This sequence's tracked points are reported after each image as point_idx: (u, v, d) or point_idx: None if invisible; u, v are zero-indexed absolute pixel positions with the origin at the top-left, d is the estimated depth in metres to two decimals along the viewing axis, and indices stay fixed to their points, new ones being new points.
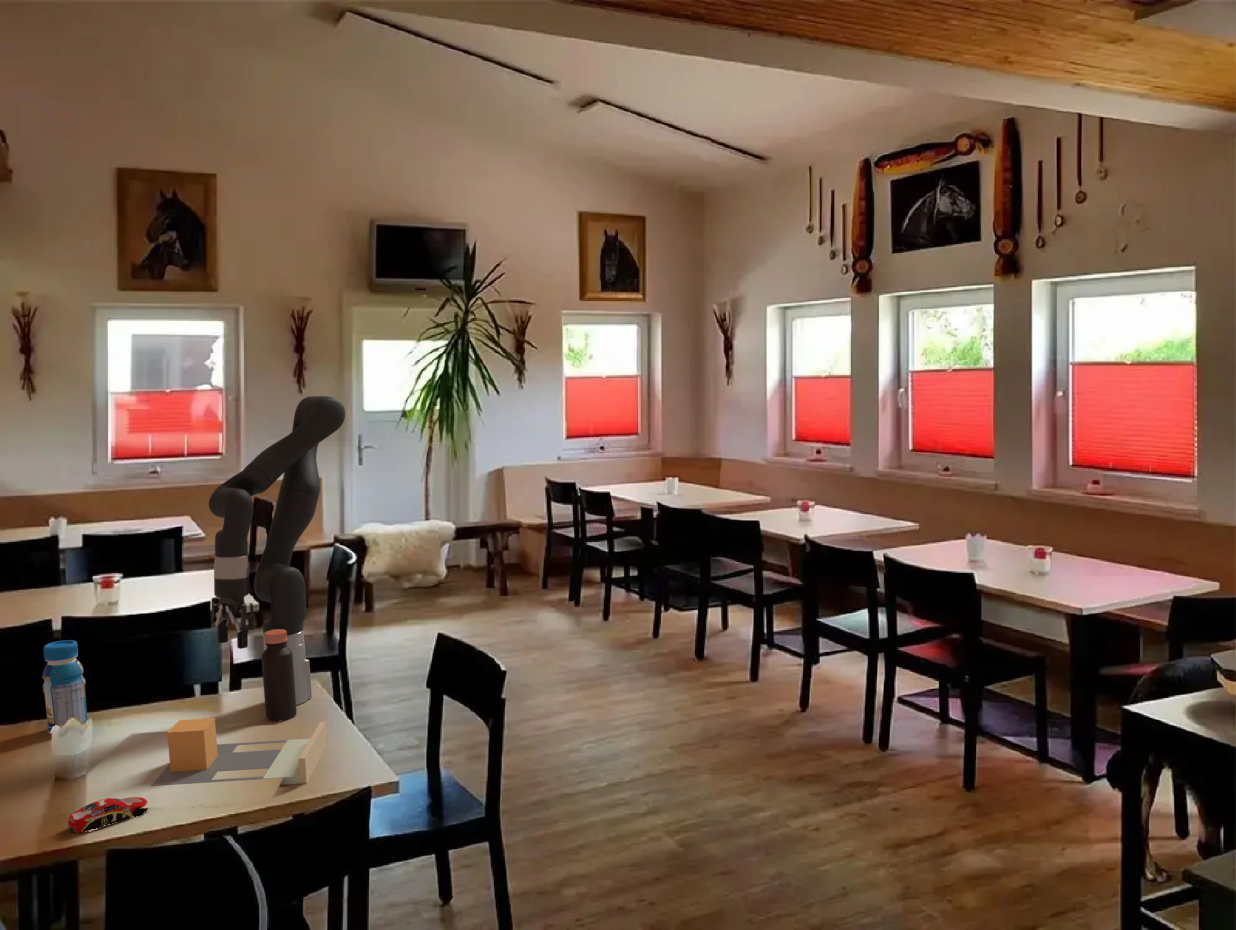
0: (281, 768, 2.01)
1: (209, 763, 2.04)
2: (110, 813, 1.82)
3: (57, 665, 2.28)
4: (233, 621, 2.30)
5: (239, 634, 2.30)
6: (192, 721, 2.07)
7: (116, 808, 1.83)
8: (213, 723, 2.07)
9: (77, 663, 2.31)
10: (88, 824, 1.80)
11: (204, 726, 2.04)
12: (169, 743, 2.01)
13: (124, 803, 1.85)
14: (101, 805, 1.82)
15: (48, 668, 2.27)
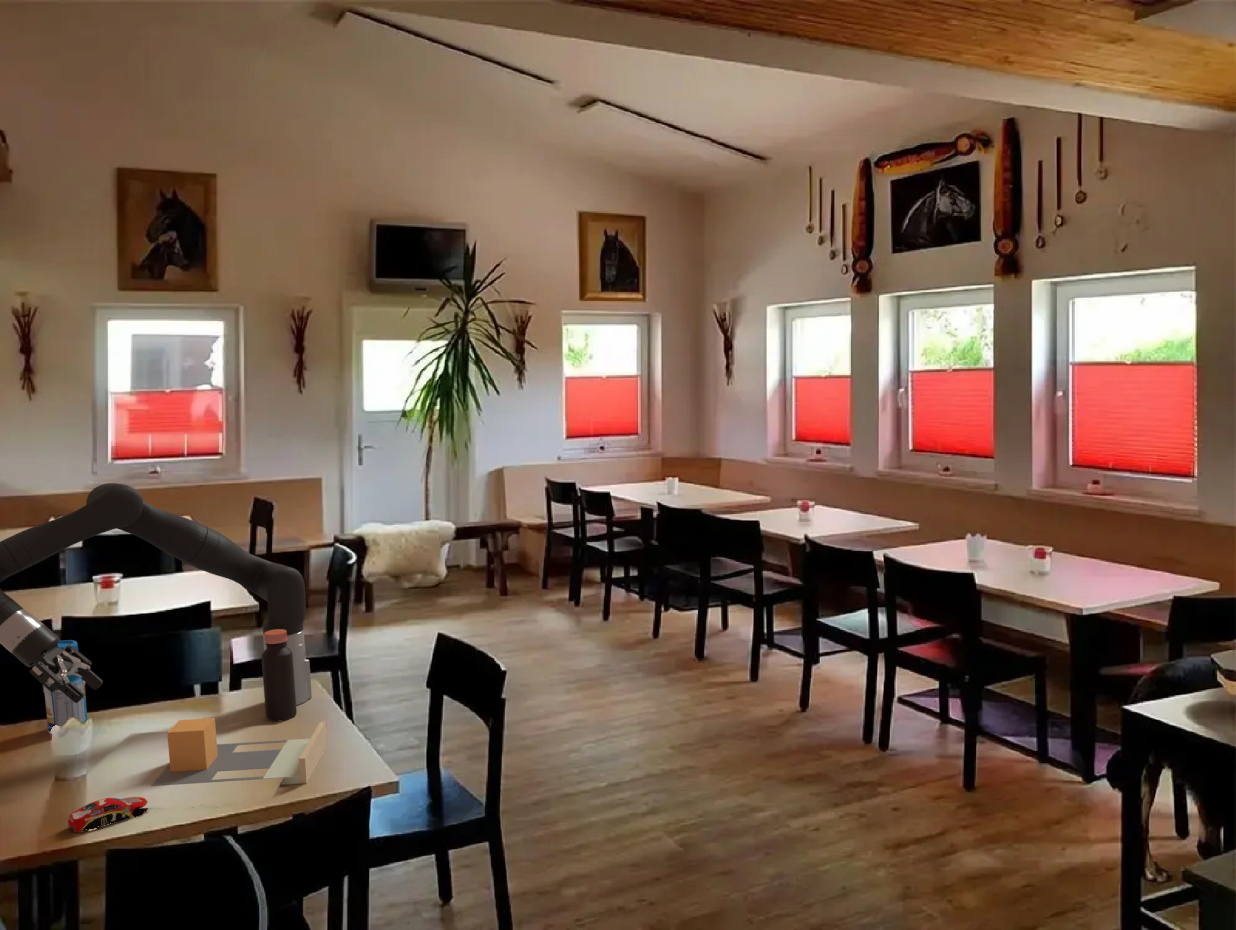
0: (281, 768, 2.01)
1: (209, 763, 2.04)
2: (110, 813, 1.82)
3: None
4: None
5: None
6: (192, 721, 2.07)
7: (115, 808, 1.83)
8: (213, 723, 2.07)
9: None
10: (87, 824, 1.80)
11: (204, 726, 2.04)
12: (169, 743, 2.01)
13: (124, 803, 1.85)
14: (101, 805, 1.82)
15: None
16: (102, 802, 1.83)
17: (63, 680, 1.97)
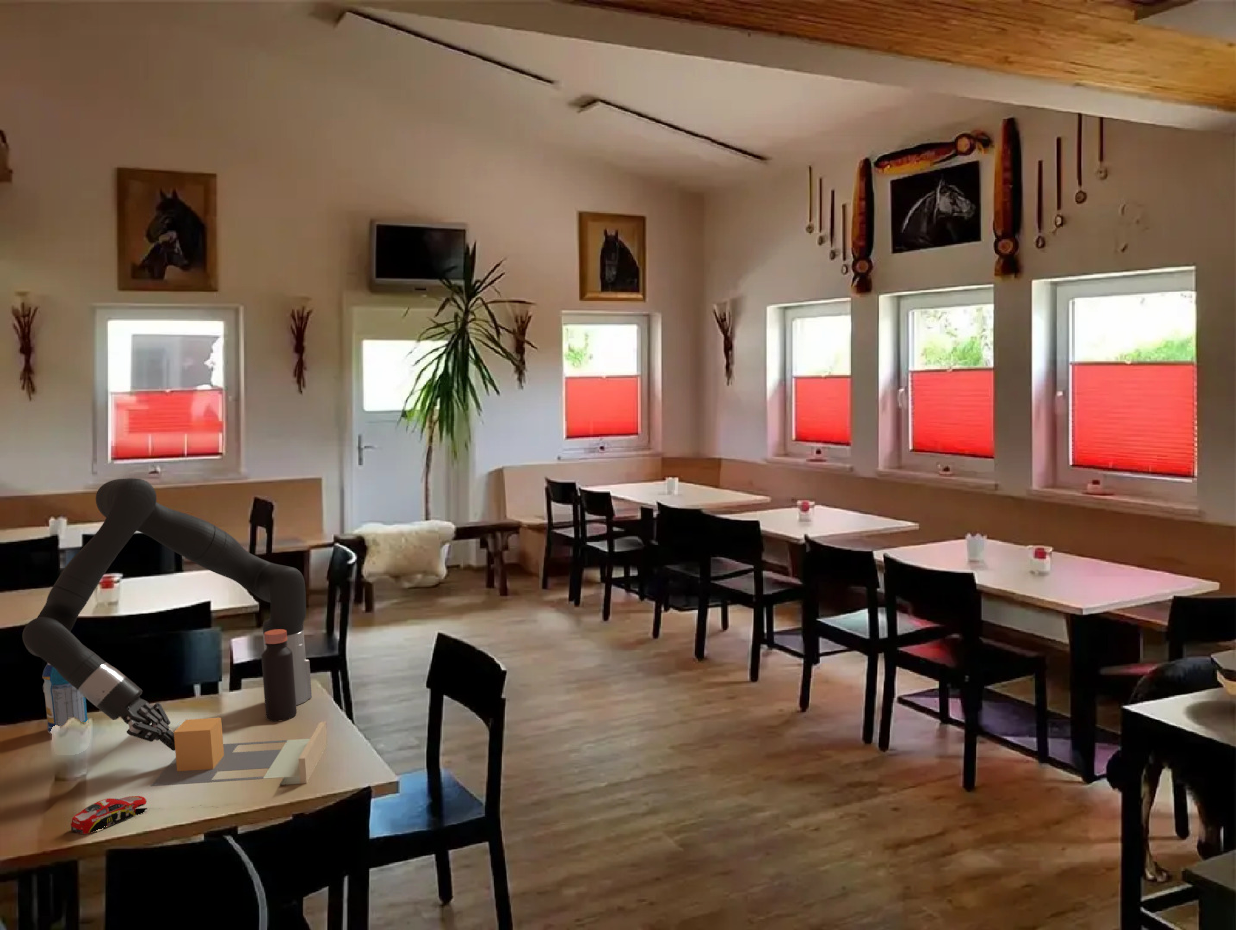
0: (281, 768, 2.01)
1: (215, 763, 2.04)
2: (114, 812, 1.82)
3: None
4: None
5: None
6: (198, 721, 2.07)
7: (119, 807, 1.83)
8: (219, 723, 2.08)
9: None
10: (95, 824, 1.79)
11: (210, 726, 2.04)
12: (176, 743, 2.01)
13: (126, 802, 1.85)
14: (105, 805, 1.82)
15: (48, 668, 2.27)
16: (104, 802, 1.83)
17: (162, 731, 2.03)
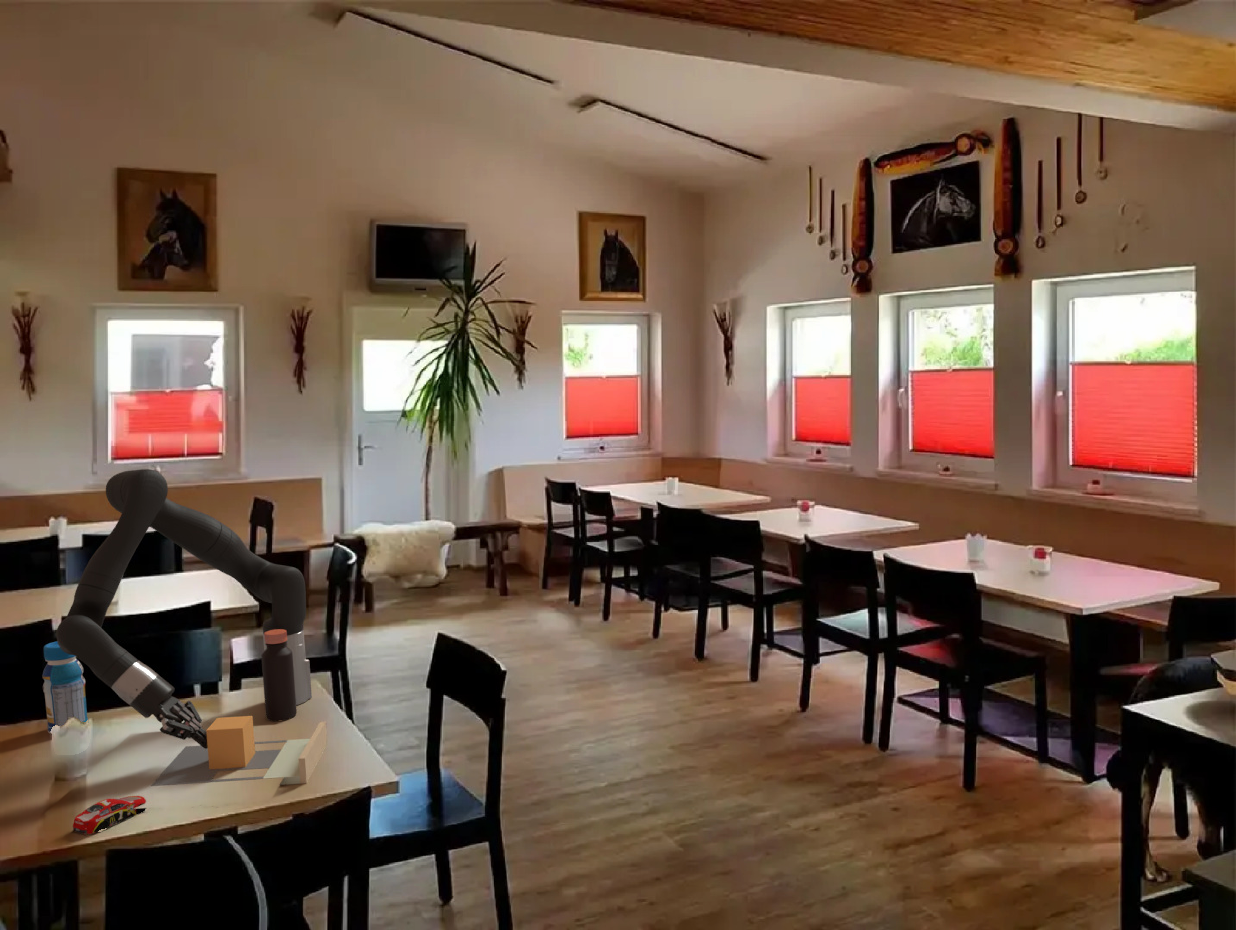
0: (281, 768, 2.01)
1: (247, 761, 2.04)
2: (117, 812, 1.83)
3: (57, 665, 2.28)
4: None
5: None
6: (230, 719, 2.07)
7: (121, 806, 1.84)
8: (251, 721, 2.08)
9: (77, 663, 2.31)
10: (98, 824, 1.79)
11: (242, 724, 2.04)
12: (208, 741, 2.02)
13: (126, 801, 1.85)
14: (107, 805, 1.82)
15: (48, 668, 2.27)
16: (106, 803, 1.83)
17: (194, 729, 2.03)
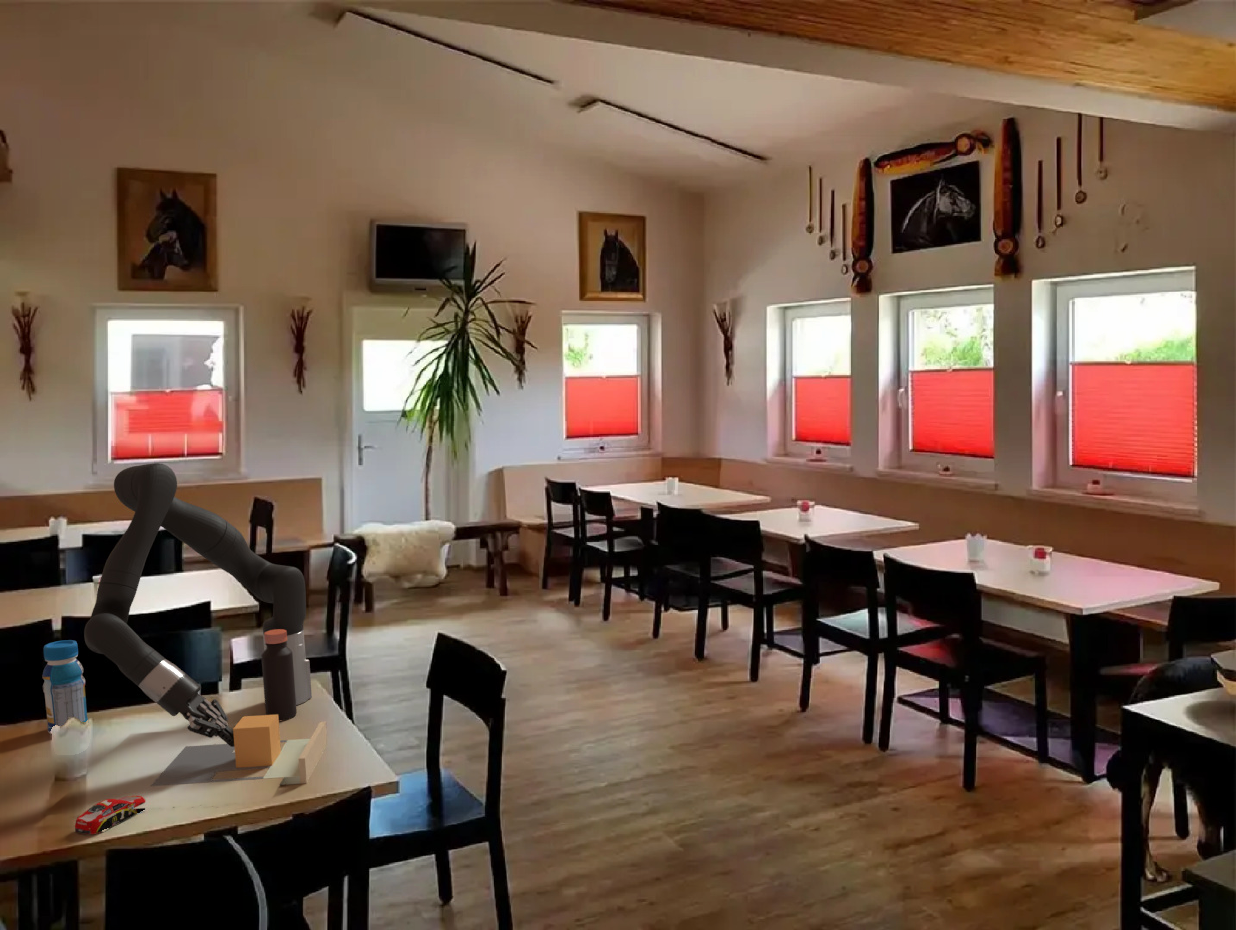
0: (281, 768, 2.01)
1: (274, 759, 2.05)
2: (119, 811, 1.83)
3: (57, 665, 2.28)
4: None
5: (220, 736, 2.05)
6: (256, 718, 2.07)
7: (123, 806, 1.84)
8: (277, 719, 2.08)
9: (77, 663, 2.31)
10: (102, 824, 1.79)
11: (269, 722, 2.04)
12: (235, 739, 2.02)
13: (127, 801, 1.86)
14: (108, 805, 1.82)
15: (48, 668, 2.27)
16: (107, 803, 1.83)
17: (221, 727, 2.04)
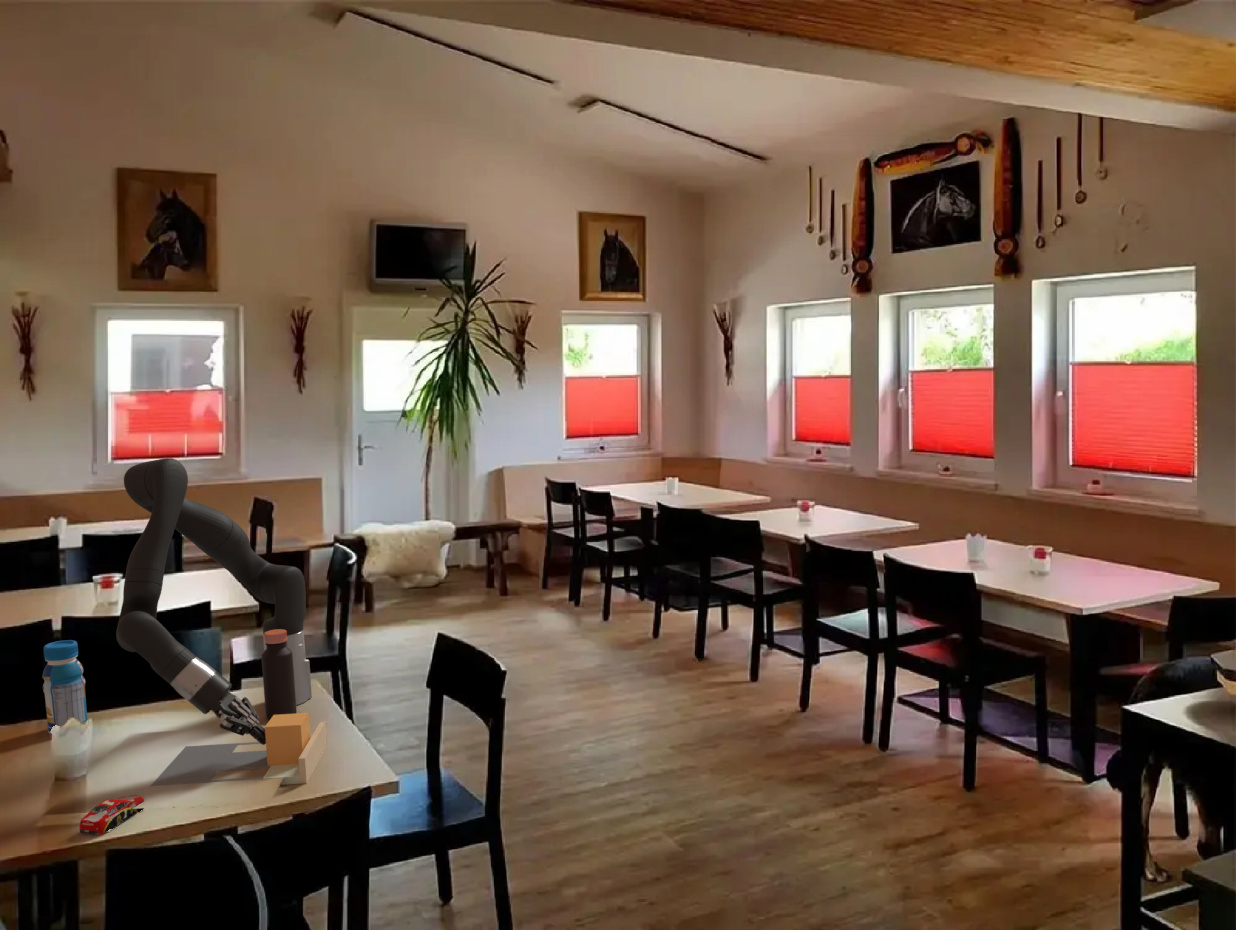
0: (281, 768, 2.01)
1: None
2: (122, 810, 1.83)
3: (57, 665, 2.28)
4: None
5: None
6: (287, 716, 2.08)
7: (125, 805, 1.84)
8: (307, 718, 2.09)
9: (77, 663, 2.31)
10: (108, 823, 1.79)
11: (300, 721, 2.05)
12: (266, 737, 2.02)
13: (127, 800, 1.86)
14: (112, 805, 1.82)
15: (48, 668, 2.27)
16: (109, 803, 1.83)
17: (252, 725, 2.04)
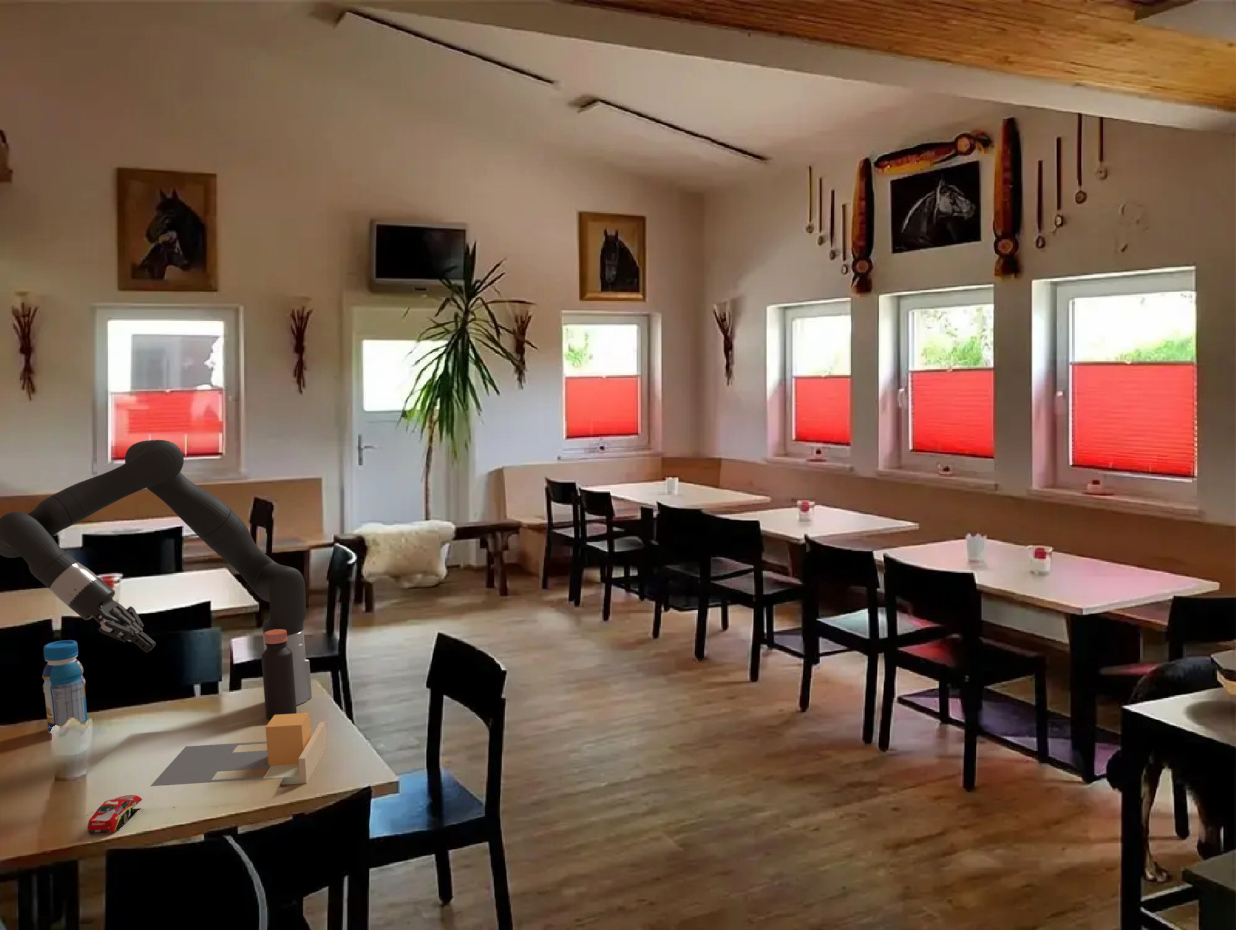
0: (281, 768, 2.01)
1: None
2: (127, 809, 1.84)
3: (57, 665, 2.28)
4: None
5: None
6: (287, 716, 2.08)
7: (128, 804, 1.85)
8: (308, 718, 2.09)
9: (77, 663, 2.31)
10: (118, 822, 1.80)
11: (301, 721, 2.05)
12: (267, 737, 2.02)
13: (128, 799, 1.86)
14: (117, 804, 1.82)
15: (48, 668, 2.27)
16: (113, 802, 1.83)
17: (135, 632, 2.00)
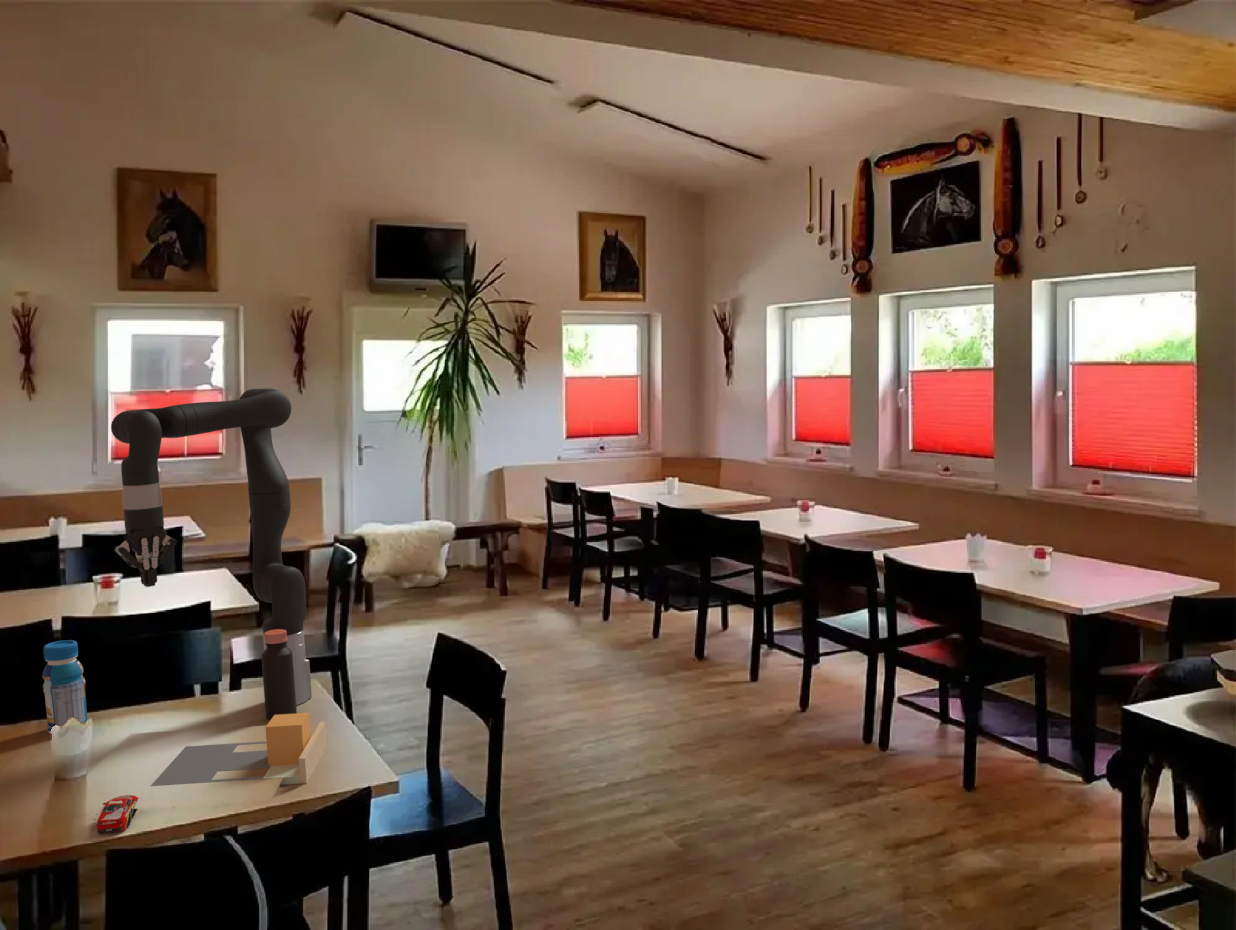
0: (281, 768, 2.01)
1: None
2: (131, 807, 1.84)
3: (57, 665, 2.28)
4: None
5: None
6: (287, 716, 2.08)
7: (130, 802, 1.85)
8: (308, 718, 2.09)
9: (77, 663, 2.31)
10: (127, 819, 1.81)
11: (301, 721, 2.05)
12: (267, 737, 2.02)
13: None
14: (122, 802, 1.83)
15: (48, 668, 2.27)
16: (117, 802, 1.83)
17: (143, 567, 2.15)
